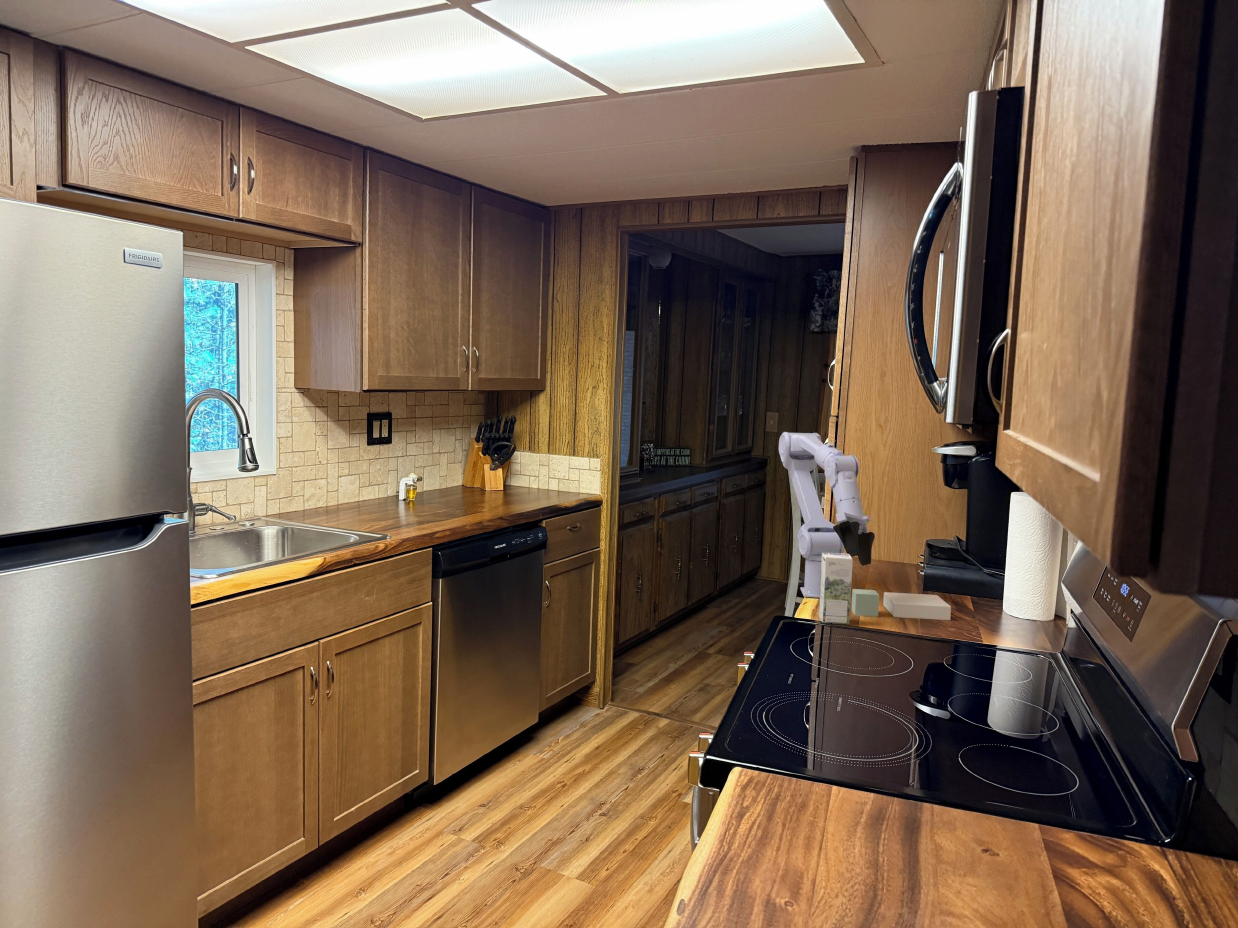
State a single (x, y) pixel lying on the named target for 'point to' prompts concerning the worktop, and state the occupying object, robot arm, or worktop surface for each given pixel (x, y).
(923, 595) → the base block
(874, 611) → the green cube
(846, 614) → the syrup box
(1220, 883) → the worktop surface
